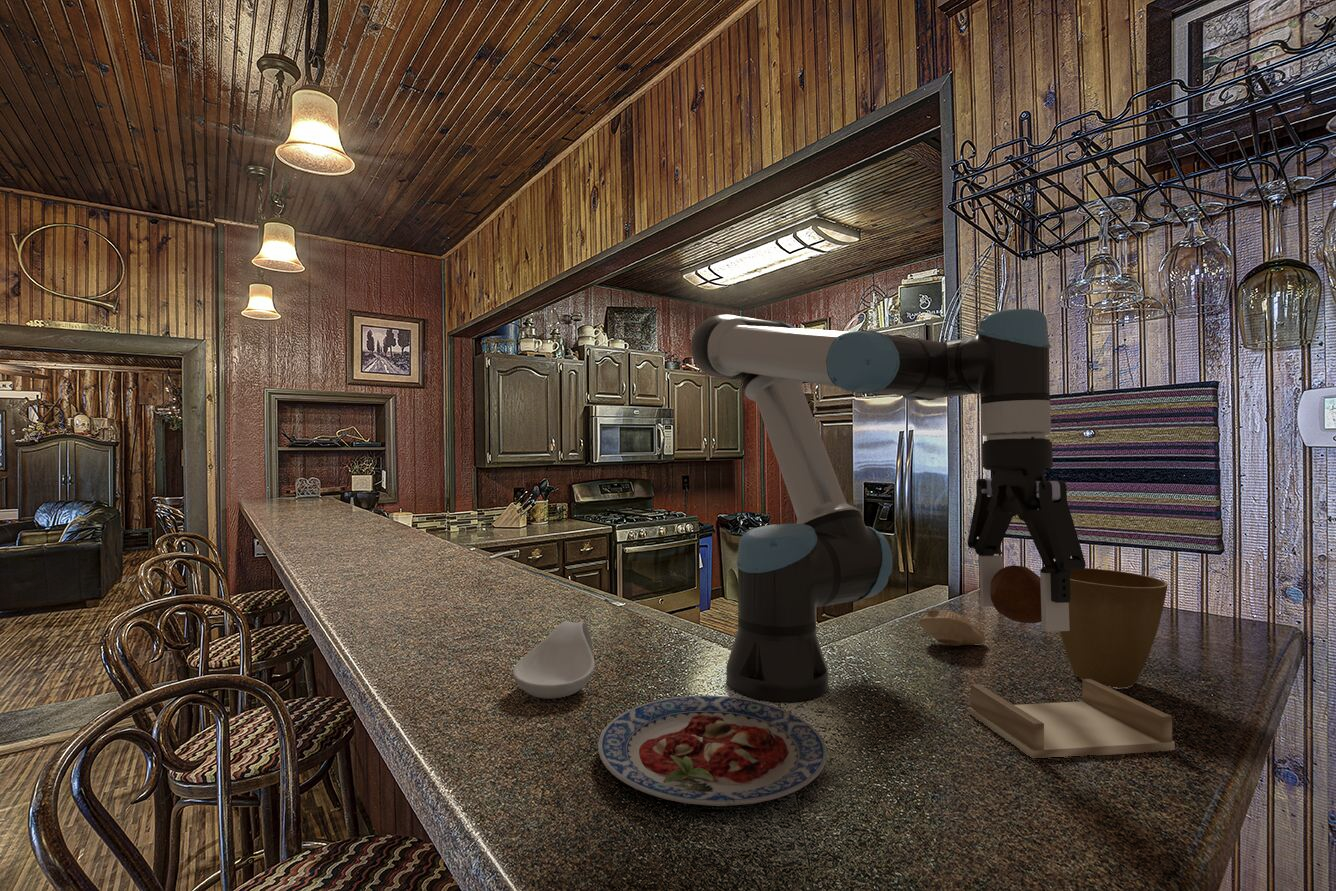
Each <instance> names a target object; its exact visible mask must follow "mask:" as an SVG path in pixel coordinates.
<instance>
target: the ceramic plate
mask: <svg viewBox="0 0 1336 891" xmlns="http://www.w3.org/2000/svg"><path fill="white" fill-rule="evenodd" d="M597 744H598V745H597V746H598V749H597V750H598V754H599V759H600V760H601V762H602V764H603V765H604V766H605V769H607V770H608V771H609V772H610V773H611V774H612V775H613V776H614V777H616V778H617V779H618V780H620V781H621V782H623V783H625V784H626V785H628V786H630V787H632V788H634V789H635V790H637V791H640V792H643V793H645V794H648V795H651V796H654V797H657V798H659V799H664V800H668V801H674V802H678V803H682V804H691V805H699V806H700V805H703V806H711V807H712V806H714V807H715V806H717V807H724V806H725V807H726V806H739V805H750V804H751V805H753V804H757V803H763V802H766V801H771V800H776V799H779V798H782V797H785V796H787V795H790V794H793V793H795V792H798V791H799V790H801V789H802V788H805V786H808V785H809V784H810V783H812V782H813V781H814V780H815V779H817V777H818V776H819V775H820V774H821V773H822V771H823V769H825V768H824V767H825V766H826V762H827V756H828V752H827V745H826V743H825V741H824V739H823V737H822V736H821V734H820V733H819V732H818V731H817V730H816V729H815V728H814V727H813V726H812V725H811V723H808V722H807V721H805V720H803V719H802V718H800V716H797V715H796V714H794V713H792V712H789V711H787V710H784V709H782V708H780V707H777V706H775V705H771V704H768V703H765V702H763V701H756V700H752V699H747V698H741V697H734V696H733V697H732V696H726V695H724V696H723V695H685V696H675V697H668V698H664V699H658V700H653V701H650V702H647V703H643V704H641V705H640V704H639V705H637V706H636V707H633V708H631V709H628V710H626V711H624V712H622V713H620V714H619V715H618V716H616V717H614V719H612V720H611V721H610V722H609V723H608V724H606V726H605V727H603V729H602V731H601V733H600V736H599V738H598V743H597Z"/></svg>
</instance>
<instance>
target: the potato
mask: <svg viewBox="0 0 1336 891" xmlns="http://www.w3.org/2000/svg"><path fill="white" fill-rule="evenodd" d="M990 596H991V601H992V603H993V605H994V606H993V607H994V609H995V610H996V611H997V612H998V614H1001V615H1002V616H1004V617H1006V618H1007V619H1009V620H1011V621H1014V622H1018V623H1021V624H1022V623H1023V624H1036V623H1038V624H1039V623H1042V617H1041V585H1040V575H1039V574H1037V573H1036V572H1034V571H1032V569H1030V568H1029V567H1027V566H1023V565H1007V566H1004V567H1002V569H1000V570H999V571H998V572H997V573H996V574H995V575H994V577H993V579H992V581H991V588H990Z"/></svg>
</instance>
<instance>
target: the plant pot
mask: <svg viewBox="0 0 1336 891" xmlns="http://www.w3.org/2000/svg"><path fill="white" fill-rule="evenodd" d="M1168 585H1169V584H1168V582H1166V581H1164V580H1162V579H1160V578H1156V577H1154V576H1153V577H1152V576H1149V575H1148V576H1147V575H1144V574H1138V573H1132V572H1127V571H1121V570H1120V571H1119V570H1113V569H1111V570H1110V569H1102V568H1101V569H1100V568H1090V567H1089V568H1088V567H1085V568H1084V569H1078V570H1075V571H1073V572H1071V573H1070V602H1069V627H1070V631H1058V632H1059V634H1060V637H1061V641H1062V645H1063V647H1064V651H1065V654H1066V656H1067V659H1068V662H1069V664H1070V667H1071V669H1072V672H1073V674H1074V676H1075V675H1077V676H1078V677H1080V678H1082V679H1092V680H1094V681H1096V682H1098V683H1101V684H1103V685H1105V686H1111V687H1128V686H1131V685H1134V684H1136V683H1137V681H1138V679H1139V677H1140V675H1141V672H1142V671H1143V670H1144V669H1143V668H1144V667H1145V664H1146V662H1147V660H1148V657H1149V655H1150V653H1151V649H1152V647H1153V645H1154V642H1155V639H1156V636H1157V633H1158V630H1159V627H1160V623H1161V618H1162V614H1163V610H1164V606H1165V600H1166V597H1167V596H1166V595H1167V590H1168ZM1134 686H1135V685H1134Z"/></svg>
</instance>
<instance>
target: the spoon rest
mask: <svg viewBox="0 0 1336 891" xmlns="http://www.w3.org/2000/svg"><path fill="white" fill-rule="evenodd" d="M593 650H594V649H593V641H592V636H591V633H590V629H589V627H588V625H587V623H586V622H585V621H583V620H582V621H579V622H578V621H577V622H572V621H569V620H564V621H562V622H560V623H559V624H558V626H556V627H555V629H553V631H552V632H551V633H549V634H548V635H547V636H546V637H545V638H544V639H542V641H541V642H540V643H538V644H537V645H536V646H535V647H534V648H532V649H531V650H530V651H529V652H528V653H526V654H525V655H524V656H523V657H522V658H520V659H519V661H518V662H517V663H516V664H515V666H513V668H512V677H513V679H514V681H515V683H516V684H517V686H518V687H519V688H520V689H522V690H523V691H524V692H525V693H527V694H528V695H530V696H533V697H534V698H539V699H547V700H548V699H550V700H554V699H556V698H558V699H562V697H563V698H566V696H567V697H569V696H571V695H573V694H576V693H577V692H579V691H580V690H581V689H583V688H584V687H585V686H586V685H587V684H588V682H589V681H590V679H591V678H592V676H593V674H594V671H595V667H596V666H595V664H596V663H595V659H594V655H593Z"/></svg>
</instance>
